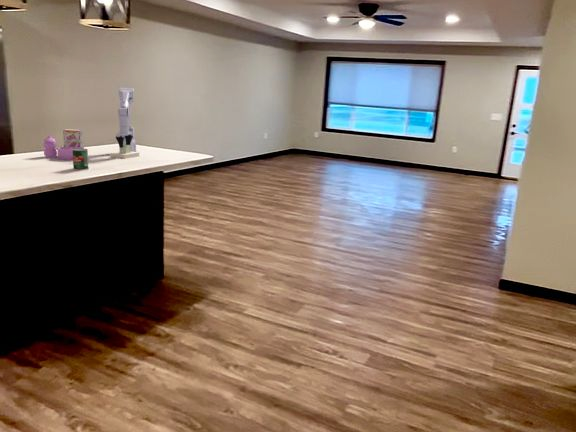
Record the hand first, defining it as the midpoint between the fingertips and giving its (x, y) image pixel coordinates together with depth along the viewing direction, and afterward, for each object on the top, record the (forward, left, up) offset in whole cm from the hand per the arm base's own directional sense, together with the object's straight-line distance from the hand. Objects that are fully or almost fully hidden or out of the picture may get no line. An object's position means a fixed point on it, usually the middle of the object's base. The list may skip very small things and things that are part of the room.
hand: (124, 147), depth 329 cm
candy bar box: (+18, -26, -6) cm, 32 cm away
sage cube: (0, 0, -4) cm, 4 cm away
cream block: (0, 0, -7) cm, 7 cm away
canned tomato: (+51, +13, -6) cm, 53 cm away
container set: (+30, -22, -7) cm, 38 cm away
